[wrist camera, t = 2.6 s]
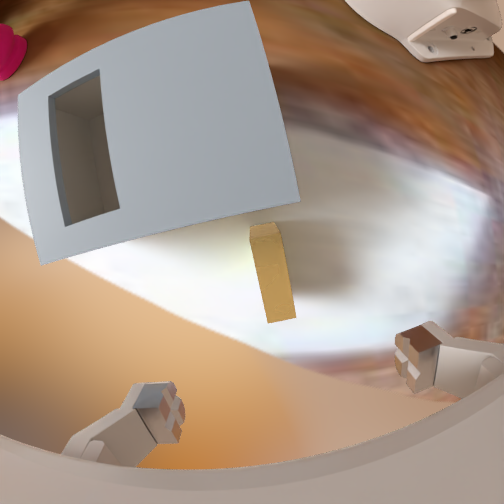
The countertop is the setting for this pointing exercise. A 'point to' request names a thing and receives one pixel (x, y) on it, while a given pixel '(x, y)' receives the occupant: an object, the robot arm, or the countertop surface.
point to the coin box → (154, 134)
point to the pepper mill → (10, 51)
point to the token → (272, 272)
